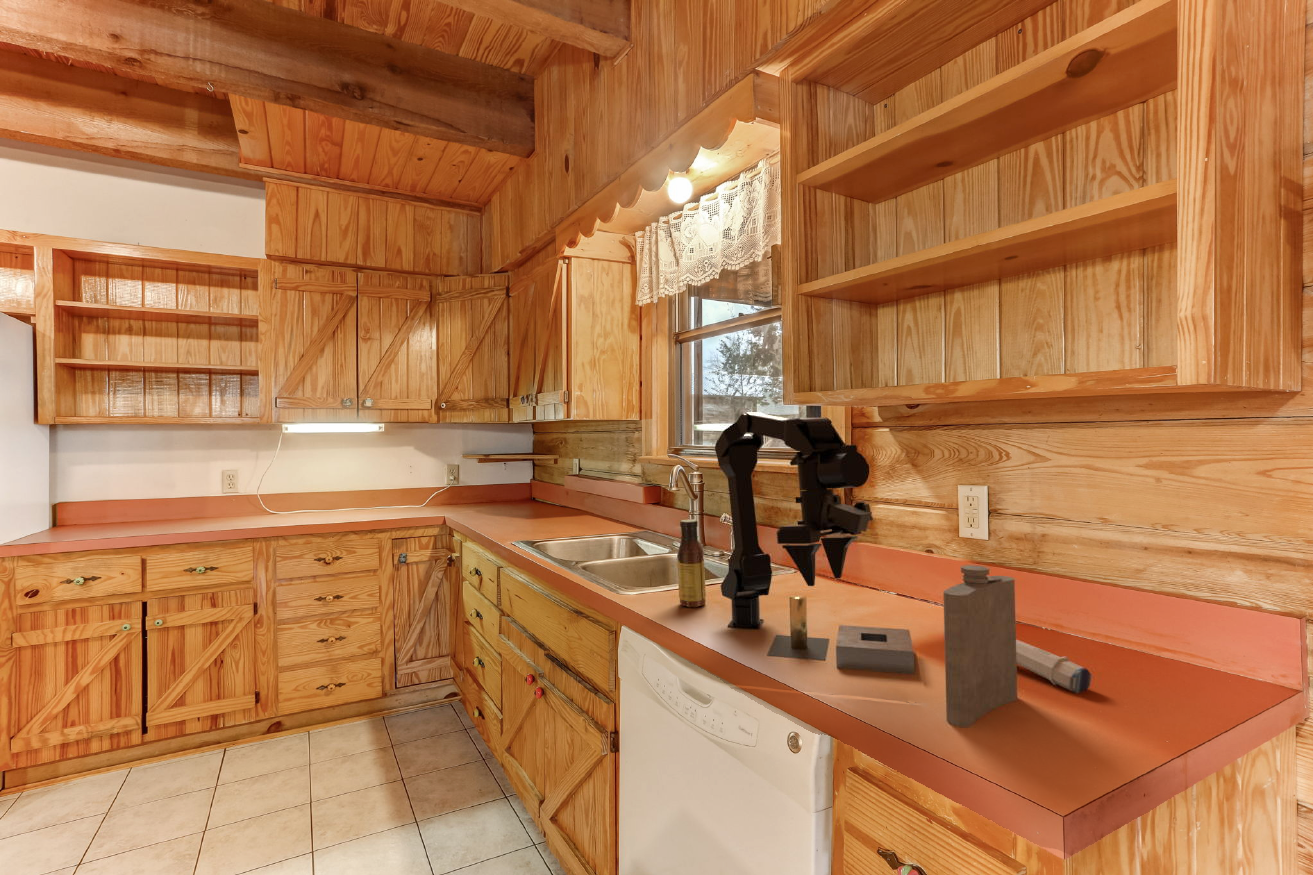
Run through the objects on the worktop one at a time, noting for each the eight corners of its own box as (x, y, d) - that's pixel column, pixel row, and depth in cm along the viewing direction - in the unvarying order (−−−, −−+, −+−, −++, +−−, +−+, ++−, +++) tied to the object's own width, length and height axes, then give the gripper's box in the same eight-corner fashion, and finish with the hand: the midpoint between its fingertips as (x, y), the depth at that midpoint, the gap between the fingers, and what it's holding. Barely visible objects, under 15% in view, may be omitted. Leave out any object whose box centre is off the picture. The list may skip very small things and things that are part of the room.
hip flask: (964, 729, 84) (961, 577, 84) (935, 719, 87) (932, 572, 87) (1021, 697, 94) (1018, 561, 94) (993, 689, 97) (989, 557, 97)
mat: (776, 636, 124) (776, 634, 124) (829, 640, 121) (829, 638, 121) (766, 657, 113) (766, 655, 113) (825, 662, 110) (825, 660, 110)
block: (839, 646, 118) (839, 624, 118) (909, 652, 114) (909, 629, 114) (836, 669, 106) (836, 645, 106) (914, 676, 102) (913, 651, 102)
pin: (791, 643, 119) (790, 595, 119) (808, 644, 118) (807, 595, 118) (789, 648, 116) (788, 599, 116) (806, 650, 115) (805, 600, 115)
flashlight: (1072, 670, 94) (938, 607, 116) (1067, 713, 94) (935, 642, 117) (1096, 665, 96) (960, 603, 118) (1091, 707, 96) (957, 638, 119)
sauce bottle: (692, 600, 154) (690, 517, 154) (711, 604, 149) (709, 519, 149) (672, 605, 149) (670, 520, 149) (692, 610, 145) (689, 522, 145)
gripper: (833, 489, 98) (842, 592, 96) (884, 485, 111) (894, 576, 110) (771, 493, 105) (779, 589, 104) (826, 488, 119) (834, 574, 117)
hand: (825, 581), depth 109 cm, fingers open, 9 cm apart
